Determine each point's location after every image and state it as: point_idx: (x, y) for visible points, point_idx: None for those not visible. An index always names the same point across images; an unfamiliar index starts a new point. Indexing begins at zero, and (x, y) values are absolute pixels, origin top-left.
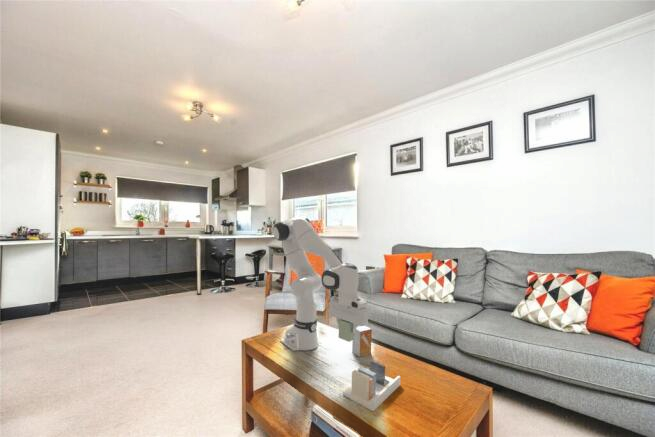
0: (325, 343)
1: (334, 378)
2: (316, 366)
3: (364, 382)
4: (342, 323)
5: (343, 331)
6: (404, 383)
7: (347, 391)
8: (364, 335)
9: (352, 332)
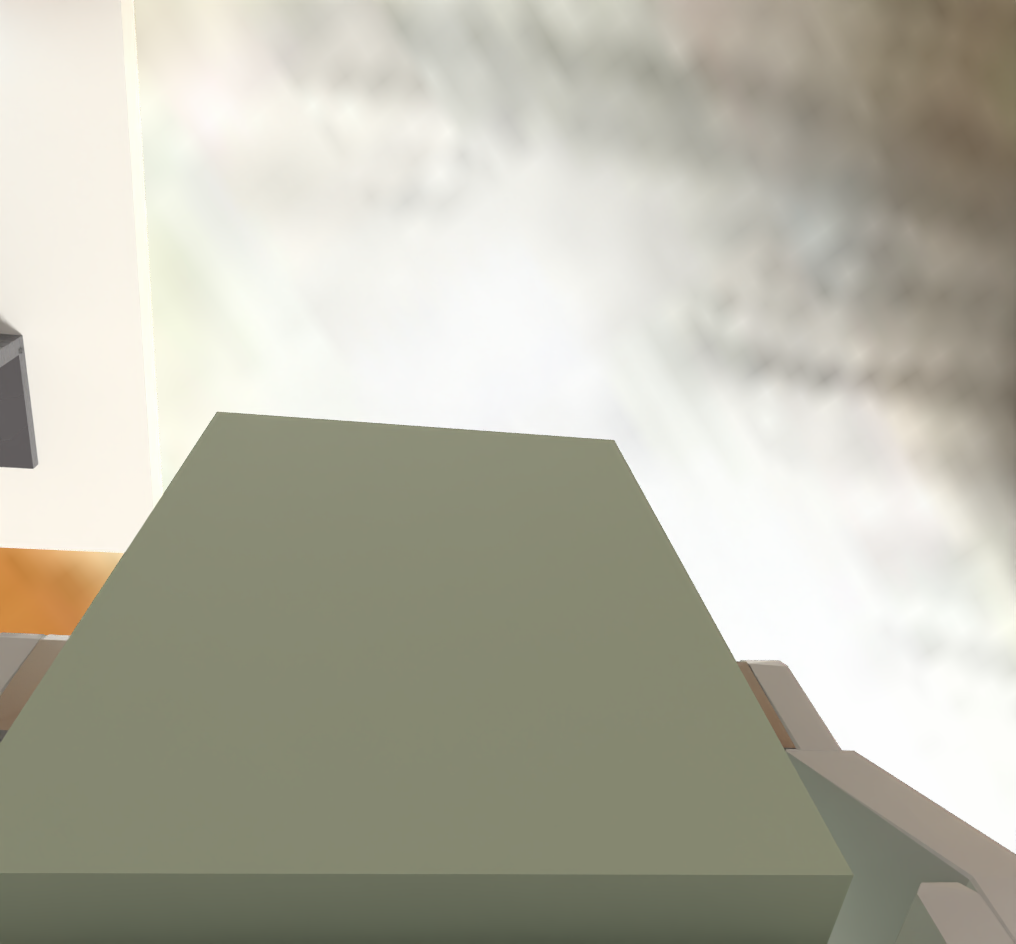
0: (975, 733)
1: (465, 104)
2: (833, 213)
3: None
4: (559, 760)
5: (450, 540)
6: None
7: None
8: None
9: (66, 637)
